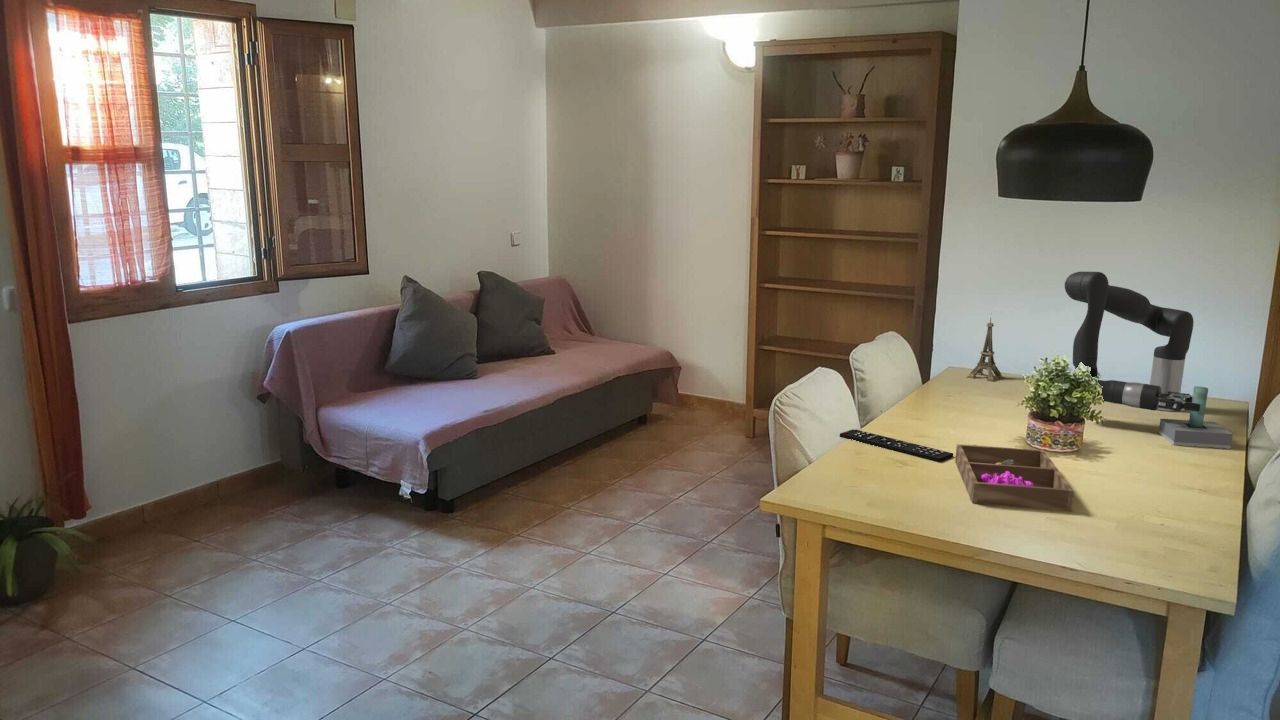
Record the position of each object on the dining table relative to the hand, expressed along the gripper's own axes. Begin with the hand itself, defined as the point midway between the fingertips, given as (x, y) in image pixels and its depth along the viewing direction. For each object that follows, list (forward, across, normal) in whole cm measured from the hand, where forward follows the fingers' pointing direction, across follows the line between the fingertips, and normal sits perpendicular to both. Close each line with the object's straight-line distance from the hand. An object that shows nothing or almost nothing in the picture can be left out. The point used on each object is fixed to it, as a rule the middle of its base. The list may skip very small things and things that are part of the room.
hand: (1202, 405), depth 273 cm
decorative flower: (-29, -73, +11) cm, 79 cm away
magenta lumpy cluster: (-27, -87, +11) cm, 92 cm away
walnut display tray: (-29, -77, +11) cm, 83 cm away
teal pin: (-1, 0, +10) cm, 10 cm away
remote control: (-65, -66, +12) cm, 93 cm away
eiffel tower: (-77, +42, +11) cm, 88 cm away
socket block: (-1, 0, +11) cm, 11 cm away
